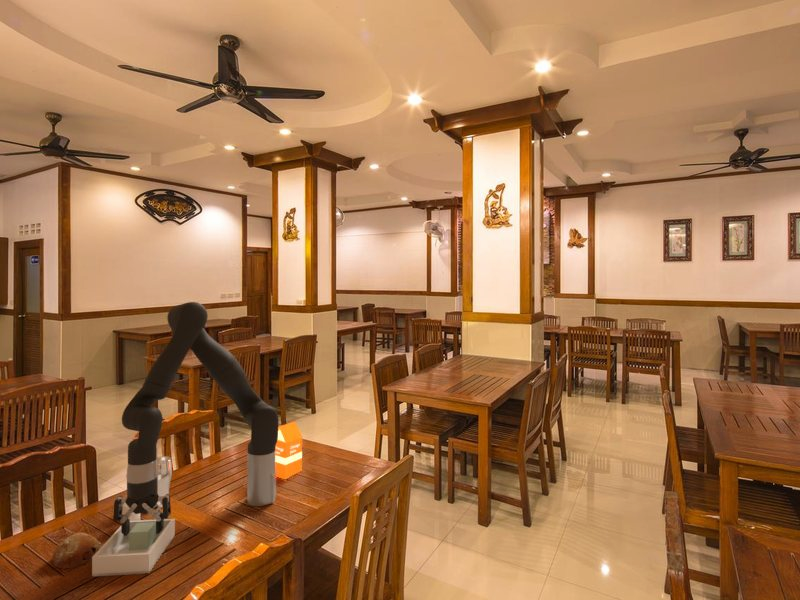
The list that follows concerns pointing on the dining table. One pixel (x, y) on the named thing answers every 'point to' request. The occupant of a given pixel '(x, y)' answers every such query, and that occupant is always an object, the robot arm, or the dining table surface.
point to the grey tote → (131, 552)
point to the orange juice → (288, 451)
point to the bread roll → (75, 550)
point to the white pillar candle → (133, 515)
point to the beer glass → (164, 476)
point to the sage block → (142, 536)
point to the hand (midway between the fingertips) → (142, 533)
